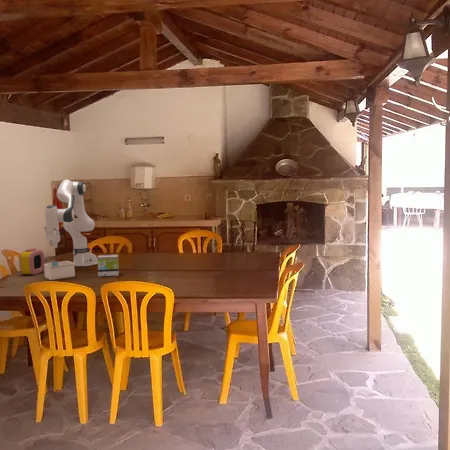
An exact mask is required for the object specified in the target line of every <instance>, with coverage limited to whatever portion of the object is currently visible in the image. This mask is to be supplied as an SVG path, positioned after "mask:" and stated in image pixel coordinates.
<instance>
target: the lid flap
mask: <svg viewBox="0 0 450 450" xmlns="http://www.w3.org/2000/svg"><path fill="white" fill-rule="evenodd" d="M58 262H59V261H51V262H50V263H51V264H52V266H50V271H51V279H54V278H61V277H67V276H74V268H75V266H74V263H72V264H65V265H58ZM74 277H75V276H74ZM61 279H62V278H61Z"/></svg>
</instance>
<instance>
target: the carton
mask: <svg viewBox="0 0 450 450" xmlns="http://www.w3.org/2000/svg"><path fill="white" fill-rule="evenodd" d="M57 262H58V265H65V264H72V263H73V262H72V261H69V260H63V261H57ZM50 266H52V264H51V262H47V263H44V270H43V271H44V278H45V279H47V280H50V281H55V280H60V279H67V278H72V277H75V276H76V270H75V269H76V268H75V267H74V276H67V277H61V278H54V279H51V271H50Z"/></svg>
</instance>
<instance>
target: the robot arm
mask: <svg viewBox="0 0 450 450" xmlns="http://www.w3.org/2000/svg"><path fill="white" fill-rule="evenodd" d="M86 189H87V187H86V184H85V182H83V181H71V180H70V179H63V180H62V181H61V182H59V184H58V185H57V191H56V197H57V199H58V200H59V202H62V203H64V204H65V203H66V204H67V208H58V206H57V205H55V204H52V205H51V204H50V205H47V206H45V209H44V210H45V211H44V216H45V217H44V218H45V226H44V230H45V231H44V232H45V238H46V240H48V242H49V247H54V248H55V249H56V248H58V244H59V242H61V234H60V231H59V230H60V225H59V224H60V223H63V229H64V230H65V231H66V232H68V234H69V235H70V236H71V239H72V245H73V248H72V254H73V263H74V267H89V266H94V265H98V256H97V255H96V254H94V252H93V253H92V247H89V246H88V239H87V236H84V235H82V233H81V232H91V231H93V230H94V229H95V226H96V224H95V221H94V219H93V218H91V217H90V216H89V215H88V213H87V212H86V207H85V200H84V194H85V193H86V191H87V190H86ZM75 216H76V217H77V218H76V217H75ZM53 242H54V243H53Z"/></svg>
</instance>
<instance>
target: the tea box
mask: <svg viewBox="0 0 450 450" xmlns="http://www.w3.org/2000/svg"><path fill="white" fill-rule="evenodd" d="M97 260H98V264H97V276H98V277H113V276H114V277H116V276H117V277H118V276H119V273H120V272H119V271H120V269H119V268H120V267H119V263H120V261H119V254H102V255H101V254H99V255H98V256H97Z"/></svg>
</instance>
